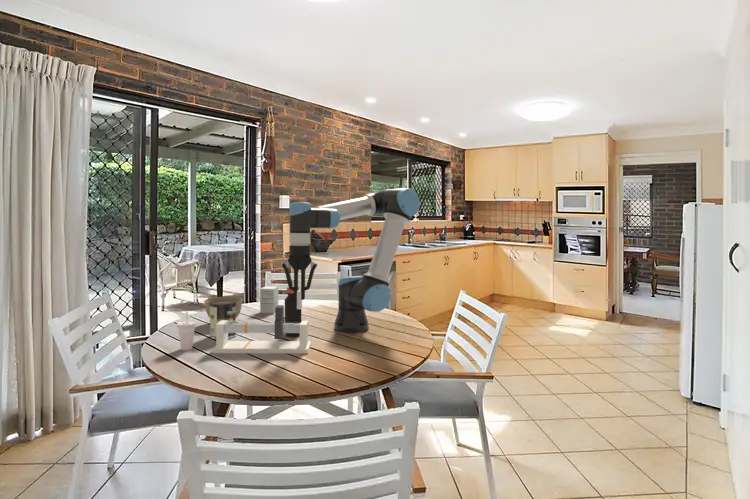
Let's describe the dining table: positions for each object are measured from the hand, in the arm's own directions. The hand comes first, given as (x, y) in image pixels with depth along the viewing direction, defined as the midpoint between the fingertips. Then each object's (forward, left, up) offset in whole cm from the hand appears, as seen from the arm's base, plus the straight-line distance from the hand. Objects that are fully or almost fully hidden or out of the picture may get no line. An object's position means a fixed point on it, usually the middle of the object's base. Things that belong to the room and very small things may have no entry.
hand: (299, 308), depth 158 cm
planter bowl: (+39, -37, -16) cm, 56 cm away
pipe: (+13, 0, -9) cm, 16 cm away
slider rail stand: (+13, 0, -15) cm, 20 cm away
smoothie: (+41, 0, -16) cm, 44 cm away
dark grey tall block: (+7, 0, -11) cm, 13 cm away
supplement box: (+24, -61, -16) cm, 67 cm away
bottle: (+5, -19, -16) cm, 25 cm away
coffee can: (+33, -17, -16) cm, 41 cm away
